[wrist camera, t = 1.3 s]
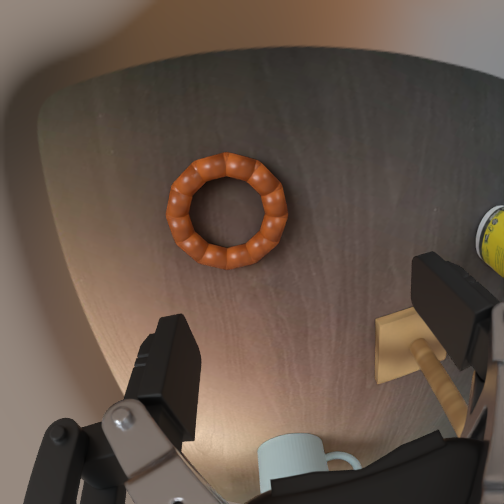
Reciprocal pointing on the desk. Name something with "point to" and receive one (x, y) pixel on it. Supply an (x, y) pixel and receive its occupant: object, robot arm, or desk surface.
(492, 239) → the pill bottle
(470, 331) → the robot arm
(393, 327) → the stand
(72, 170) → the desk surface
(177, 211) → the ring
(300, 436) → the mug
